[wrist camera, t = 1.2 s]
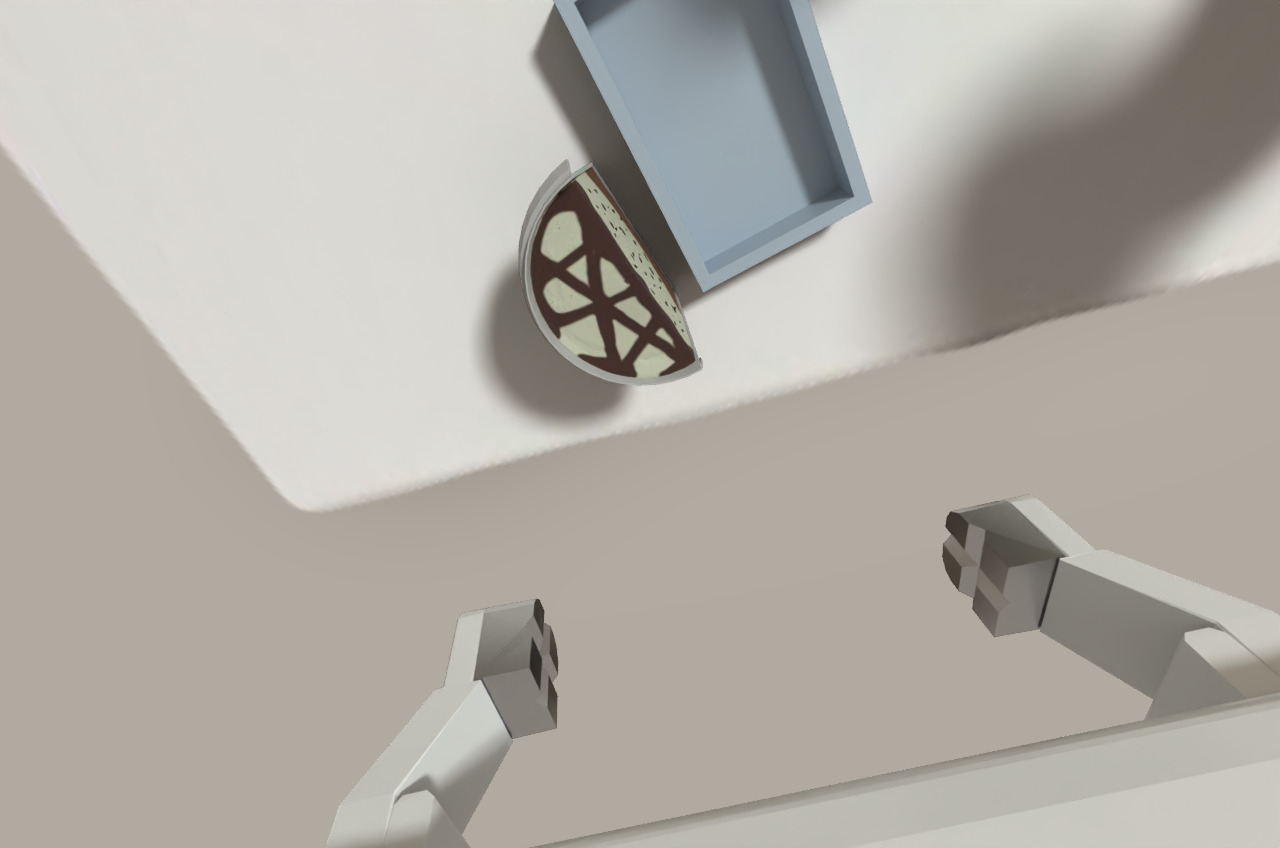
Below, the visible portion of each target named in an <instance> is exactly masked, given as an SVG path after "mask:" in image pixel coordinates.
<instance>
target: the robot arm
mask: <svg viewBox="0 0 1280 848" xmlns="http://www.w3.org/2000/svg"><path fill="white" fill-rule="evenodd" d="M946 528H947V529H948V531H949V532H950V533H951V536H950V537H949V538H948V539H947V540H946V541H945V543H944V544H943V555H942V557H943V561H944V565H945V569H946V572H947V574H948V576H949V578H950V579H951V581H952V583H953V584H954V585H955V587H956V588H957V589H958V591H960V592H962V593H964V594H966V595H968V596H970V597H972V598H973V608H972V609H973V611H974V612H975V613H976V614H977V616H978V617H979V618H980V619H981V621H982V622H983V623H984V625H985V626H986V627H987V629H988V630H989V631H990V633H991V634H992V635H993V636H994V637H998V636H1003V635H1009V634H1015V633H1021V632H1026V631H1031V630H1037V629H1040V632H1042V633H1044V634H1045V635H1047V636H1048V637H1050V638H1052V639H1053V640H1055V641H1057V642H1058V643H1060V644H1062V645H1064V646H1065V647H1067V648H1068V649H1070V650H1072V651H1074V652H1075V653H1077V654H1078V655H1080V656H1082V657H1083V658H1085V659H1087V660H1088V661H1090V662H1092V663H1094V664H1095V665H1097V666H1098V667H1100V668H1102V669H1103V670H1105V671H1107V672H1108V673H1110V674H1112V675H1113V676H1115V677H1117V678H1119V679H1120V680H1122V681H1124V682H1125V683H1127V684H1128V685H1130V686H1132V687H1133V688H1135V689H1137V690H1138V691H1140V692H1142V693H1143V694H1145V695H1147V696H1148V697H1150V698H1152V699H1153V702H1152V704H1151V707H1150V709H1149V711H1148V713H1147V715H1146V717H1145V719H1144V720H1143V721H1138V722H1133V723H1128V724H1124V725H1118V726H1113V727H1109V728H1104V729H1099V730H1094V731H1089V732H1085V733H1080V734H1075V735H1070V736H1065V737H1060V738H1056V739H1051V740H1046V741H1041V742H1036V743H1032V744H1027V745H1022V746H1018V747H1012V748H1008V749H1003V750H998V751H993V752H988V753H983V754H979V755H974V756H969V757H964V758H959V759H954V760H950V761H945V762H940V763H936V764H931V765H926V766H921V767H916V768H911V769H906V770H902V771H897V772H892V773H887V774H882V775H877V776H872V777H868V778H863V779H858V780H853V781H849V782H844V783H839V784H834V785H829V786H825V787H820V788H815V789H810V790H805V791H801V792H796V793H791V794H786V795H781V796H777V797H772V798H767V799H762V800H757V801H753V802H748V803H743V804H738V805H734V806H729V807H724V808H720V809H714V810H710V811H705V812H700V813H695V814H690V815H685V816H680V817H676V818H671V819H666V820H661V821H657V822H651V823H647V824H642V825H638V826H632V827H628V828H623V829H618V830H613V831H608V832H603V833H599V834H594V835H589V836H584V837H579V838H575V839H569V840H565V841H560V842H555V843H550V844H545V845H540V846H536V847H531V848H1280V616H1279V615H1277V614H1276V613H1275V612H1272V611H1270V610H1267V609H1264V608H1262V607H1259V606H1256V605H1254V604H1251V603H1248V602H1245V601H1243V600H1240V599H1237V598H1234V597H1232V596H1229V595H1227V594H1224V593H1221V592H1219V591H1216V590H1213V589H1210V588H1208V587H1205V586H1202V585H1200V584H1197V583H1194V582H1192V581H1189V580H1186V579H1183V578H1181V577H1178V576H1175V575H1173V574H1170V573H1167V572H1164V571H1162V570H1159V569H1156V568H1154V567H1151V566H1148V565H1146V564H1143V563H1140V562H1138V561H1135V560H1132V559H1129V558H1127V557H1124V556H1121V555H1118V554H1116V553H1113V552H1111V551H1108V550H1105V549H1104V550H1098V551H1096V550H1095V549H1094V548H1093V547H1092V546H1090V545H1089V544H1088V543H1087V542H1086V541H1085V540H1084V539H1083V538H1081V537H1080V536H1079V535H1078V534H1077V533H1076V532H1075V531H1073V530H1072V529H1071V528H1070V527H1069V526H1068V525H1067V524H1066V523H1064V522H1063V521H1062V520H1061V519H1060V518H1059V517H1058V516H1057V515H1055V514H1054V513H1053V512H1052V511H1051V510H1050V509H1048V508H1047V507H1046V506H1045V505H1044V504H1043V503H1042V502H1041V501H1040V500H1038V499H1037V498H1036V497H1034V496H1031V495H1023V496H1019V497H1014V498H1010V499H1005V500H1002V501H996V502H991V503H986V504H982V505H977V506H973V507H969V508H964V509H959V510H955V511H951V512H950V513H949V515H948V516H947V520H946ZM557 675H558V657H557V649H556V643H555V639H554V635H553V632H552V629H551V627H550V626H549V625H547V624H546V623H544V609H543V607H542V605H541V602H540V600H539V599H532V600H526V601H521V602H515V603H510V604H505V605H499V606H494V607H488V608H485V609H480V610H475V611H469V612H464V613H462V614H461V616H460V617H459V619H458V621H457V626H456V630H455V635H454V640H453V644H452V649H451V654H450V658H449V663H448V668H447V672H446V677H445V682H444V686H443V687H442V688H438V689H435V691H434V692H433V693H432V694H431V695H430V697H429V698H428V699H427V700H426V702H425V703H424V704H423V705H422V706H421V707H420V709H419V710H418V711H417V712H416V713H415V715H414V716H413V717H412V718H411V720H410V721H409V722H408V723H407V724H406V726H405V727H404V728H403V729H402V731H401V732H400V733H399V734H398V735H397V736H396V738H395V739H394V740H393V741H392V743H391V744H390V745H389V746H388V748H387V749H386V750H385V751H384V752H383V754H382V755H381V756H380V757H379V758H378V760H377V761H376V762H375V763H374V764H373V766H372V767H371V768H370V769H369V770H368V772H367V773H366V774H365V775H364V776H363V778H362V779H361V780H360V781H359V782H358V784H357V785H356V786H355V787H354V788H353V790H352V791H351V792H350V793H349V795H348V796H347V797H346V798H345V799H344V801H343V802H342V803H341V804H340V805H339V808H338V811H337V814H336V818H335V821H334V824H333V827H332V830H331V833H330V836H329V839H328V842H327V845H326V848H470V846H469V845H468V843H467V842H466V841H465V839H464V838H463V836H462V833H463V832H464V830H465V828H466V826H467V824H468V822H469V821H470V819H471V817H472V815H473V813H474V811H475V809H476V808H477V806H478V804H479V802H480V801H481V799H482V797H483V795H484V793H485V792H486V790H487V788H488V786H489V784H490V782H491V781H492V779H493V777H494V775H495V773H496V771H497V770H498V768H499V766H500V764H501V763H502V761H503V759H504V757H505V755H506V753H507V752H508V750H509V748H510V746H511V744H512V742H513V741H512V739H514V738H518V737H522V736H526V735H531V734H535V733H539V732H543V731H547V730H552V729H556V728H557V693H556V691H555V688H554V686H553V684H552V682H553V681H554V679H555V678H556V677H557Z"/></svg>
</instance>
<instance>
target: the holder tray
mask: <svg viewBox="0 0 1280 848" xmlns="http://www.w3.org/2000/svg"><path fill="white" fill-rule="evenodd" d="M553 1H554V3H555V5H556V7H557V9H558V11H559V13H560V15H561V17H562V19H563V20H564V22H565V24H566V26H567V28H568V30H569V32H570V34H571V36H572V38H573V40H574V42H575V44H576V46H577V48H578V50H579V52H580V54H581V56H582V57H583V59H584V61H585V63H586V65H587V67H588V69H589V71H590V73H591V75H592V77H593V79H594V81H595V83H596V85H597V87H598V89H599V91H600V93H601V94H602V96H603V98H604V100H605V102H606V104H607V106H608V108H609V110H610V112H611V114H612V116H613V118H614V120H615V122H616V124H617V126H618V128H619V129H620V131H621V133H622V135H623V137H624V139H625V141H626V143H627V145H628V147H629V149H630V151H631V153H632V155H633V157H634V159H635V161H636V163H637V165H638V166H639V168H640V170H641V172H642V174H643V176H644V178H645V180H646V182H647V184H648V186H649V188H650V190H651V192H652V194H653V196H654V198H655V200H656V202H657V203H658V205H659V207H660V209H661V211H662V213H663V215H664V217H665V219H666V221H667V223H668V225H669V227H670V229H671V231H672V233H673V235H674V237H675V239H676V240H677V242H678V244H679V246H680V248H681V250H682V252H683V254H684V256H685V258H686V260H687V262H688V264H689V266H690V268H691V270H692V272H693V274H694V276H695V277H696V279H697V281H698V283H699V285H700V287H701V289H702V291H703V292H705V291H707V290H709V289H711V288H712V287H714V286H716V285H718V284H720V283H722V282H724V281H726V280H728V279H729V278H731V277H733V276H735V275H737V274H739V273H741V272H743V271H744V270H746V269H748V268H750V267H752V266H754V265H756V264H758V263H760V262H761V261H763V260H765V259H767V258H769V257H771V256H773V255H775V254H776V253H778V252H780V251H782V250H784V249H786V248H788V247H790V246H791V245H793V244H795V243H797V242H799V241H801V240H803V239H805V238H807V237H808V236H810V235H812V234H814V233H816V232H818V231H820V230H822V229H823V228H825V227H827V226H829V225H831V224H833V223H835V222H837V221H839V220H840V219H842V218H844V217H846V216H848V215H850V214H852V213H854V212H855V211H857V210H859V209H861V208H863V207H865V206H867V205H869V204H870V203H872V199H871V196H870V193H869V190H868V187H867V183H866V180H865V177H864V174H863V171H862V168H861V164H860V161H859V158H858V155H857V152H856V149H855V145H854V142H853V139H852V136H851V133H850V130H849V127H848V123H847V120H846V117H845V114H844V111H843V108H842V104H841V101H840V98H839V95H838V92H837V89H836V85H835V82H834V79H833V76H832V73H831V70H830V66H829V63H828V60H827V57H826V54H825V51H824V48H823V44H822V41H821V38H820V35H819V32H818V29H817V25H816V22H815V19H814V16H813V13H812V10H811V6H810V3H809V0H553Z"/></svg>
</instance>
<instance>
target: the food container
mask: <svg viewBox="0 0 1280 848" xmlns="http://www.w3.org/2000/svg"><path fill="white" fill-rule="evenodd" d="M518 266H519V272H520V279H521V285H522V290H523V293H524V297H525V300H526V303H527V306H528V309H529V312H530V314H531V316H532V318H533V320H534V322H535V324H536V326H537V327H538V329H539V330H540V332H541V333H542V334H543V336H544V337H545V339H546V340H547V341H548V342H549V343H550V344H551V345H552V347H553V348H554V349H555V350H556V351H557V352H558V353H559V354H560V355H562V356H563V357H564V358H566V359H567V360H568V361H569V362H571V363H572V364H574V365H575V366H577V367H578V368H580V369H582V370H584V371H585V372H587V373H589V374H591V375H593V376H596V377H599V378H601V379H604V380H607V381H611V382H615V383H619V384H626V385H637V386H642V385H657V384H663V383H668V382H673V381H676V380H679V379H682V378H685V377H688V376H690V375H692V374H694V373H696V372H698V371H700V370H702V368H703V362H702V359H701V358H698V355H697V352H696V349H695V346H694V343H693V340H692V337H691V334H690V331H689V328H688V325H687V322H686V319H685V316H684V313H683V310H682V307H681V304H680V301H679V298H678V295H677V292H676V289H675V288H674V286H673V285H672V283H671V282H670V280H669V279H668V277H667V276H666V274H665V273H664V271H663V270H662V268H661V266H660V265H659V263H658V262H657V260H656V259H655V257H654V256H653V254H652V253H651V251H650V250H649V248H648V247H647V245H646V244H645V242H644V241H643V239H642V237H641V236H640V234H639V233H638V231H637V230H636V228H635V227H634V225H633V224H632V222H631V221H630V219H629V218H628V216H627V215H626V213H625V211H624V210H623V208H622V207H621V205H620V204H619V202H618V201H617V199H616V198H615V196H614V195H613V193H612V192H611V190H610V189H609V187H608V185H607V184H606V182H605V181H604V179H603V178H602V176H601V175H600V173H599V172H598V170H597V169H596V167H595V166H594V164H593V163H592V162H590V163H589V164H587V165H585V166H584V167H582V168H581V169H579V170H578V171H576V172H575V173H573V174H572V173H571V172H570V166H569V161H568V160H567V159H566V160H565V161H564V162H563V163H562V164H560V165H559V166H558V167H557V168H556V169H555V170H554V171H553V172H552V173H551V174H550V175H549V177H548V178H547V179H546V181H545V182H544V183H543V184H542V186H541V187H540V188H539V190H538V191H537V193H536V195H535V197H534V199H533V201H532V202H531V204H530V206H529V208H528V211H527V214H526V217H525V220H524V222H523V225H522V230H521V236H520V241H519V263H518Z"/></svg>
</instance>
